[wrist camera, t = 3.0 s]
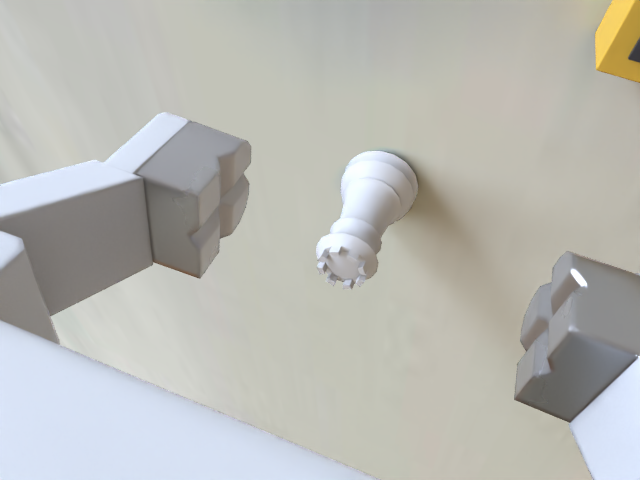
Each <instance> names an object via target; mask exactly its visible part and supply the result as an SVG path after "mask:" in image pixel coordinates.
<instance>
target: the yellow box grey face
mask: <svg viewBox="0 0 640 480" xmlns="http://www.w3.org/2000/svg"><path fill="white" fill-rule="evenodd" d="M595 49H596V70H598V71H601V72H605V73H608V74H611V75H615V76H618V77H622V78H625V79H628V80H632V81H635V82H639V83H640V0H613V1H612V2H611V4H610V6H609V8H608V10H607V12H606V14H605V16H604V18H603V20H602V22H601V23H600V25H599V27H598V29H597V31H596V33H595Z"/></svg>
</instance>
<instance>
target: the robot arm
mask: <svg viewBox="0 0 640 480" xmlns="http://www.w3.org/2000/svg"><path fill="white" fill-rule="evenodd" d="M250 163H251V145H250V144H249V142H248V141H246V140H243V139H240V138H237V137H235V136H232V135H229V134H227V133H224V132H221V131H218V130H216V129H213V128H210V127H208V126H205V125H202V124H199V123H197V122H192V121H190V120H187V119H185V118H182V117H179V116H176V115H173V114H171V113H168V112H166V113H159V114H158V115H157V116H156V117H155V118H153V119H152V120H151V121H150V122H149V123H148V124H147V125H146V126H144V127H143V128H142V129H141V130H140V131H139V132H138V133H137V134H135V135H134V136H133V137H132V138H131V139H130V140H129V141H128V142H126V143H125V144H124V145H123V146H122V147H121V148H120V149H119V150H117V151H116V152H115V153H114V154H113V155H112V156H111V157H110V158H108V159H107V160H106V161H105V162H104V163H102V162H99V161H96V160H93V161H89V162H85V163H81V164H77V165H74V166H70V167H66V168H62V169H58V170H54V171H50V172H46V173H42V174H38V175H34V176H30V177H26V178H23V179H19V180H15V181H11V182H7V183H3V184H0V480H380V479H378V478H376V477H373V476H371V475H369V474H366V473H364V472H361V471H359V470H357V469H354V468H352V467H350V466H347V465H345V464H342V463H340V462H338V461H335V460H333V459H331V458H328V457H326V456H323V455H321V454H319V453H316V452H314V451H311V450H309V449H307V448H304V447H302V446H299V445H297V444H295V443H292V442H290V441H288V440H285V439H283V438H280V437H278V436H276V435H273V434H271V433H268V432H266V431H264V430H261V429H259V428H257V427H254V426H252V425H249V424H247V423H245V422H242V421H240V420H237V419H235V418H233V417H230V416H228V415H226V414H223V413H221V412H218V411H216V410H214V409H211V408H209V407H206V406H204V405H202V404H199V403H197V402H195V401H192V400H190V399H187V398H185V397H183V396H180V395H178V394H175V393H173V392H171V391H168V390H166V389H164V388H161V387H159V386H156V385H154V384H152V383H149V382H147V381H144V380H142V379H140V378H137V377H135V376H133V375H130V374H128V373H125V372H123V371H121V370H118V369H116V368H114V367H111V366H109V365H106V364H104V363H102V362H99V361H97V360H94V359H92V358H90V357H87V356H85V355H83V354H80V353H78V352H75V351H73V350H71V349H68V348H66V347H64V346H61V345H60V343H59V339H58V336H57V333H56V330H55V328H54V325H53V322H52V319H51V317H50V316H52V315H54V314H56V313H58V312H60V311H62V310H64V309H66V308H68V307H70V306H72V305H74V304H76V303H78V302H80V301H82V300H84V299H86V298H88V297H90V296H92V295H94V294H96V293H98V292H100V291H102V290H104V289H106V288H108V287H110V286H112V285H114V284H116V283H118V282H120V281H122V280H124V279H126V278H128V277H130V276H132V275H134V274H136V273H138V272H140V271H142V270H144V269H146V268H148V267H150V266H152V265H153V262H154V263H157V264H160V265H163V266H166V267H168V268H171V269H174V270H177V271H180V272H183V273H185V274H188V275H191V276H194V277H197V278H201V277H202V275H203V274H204V272H205V271H206V270H207V268H208V267H209V265H210V264H211V263H212V261H213V260H214V258H215V257H216V256H217V254H218V253H219V243H220V238H223V237H226V236H228V235H231V234H232V233H233V231H234V230H235V228H236V227H237V225H238V224H239V222H240V220H241V217H242V215H243V213H244V210H245V208H246V204H247V200H248V195H249V182H248V180H247V179H246V177H245V175H244V174H243V173H244V171H245V170H246V169H247V167H248V166H249V165H250ZM520 341H521V343H522V345H523V347H524V348H525V350H526V353H525V354H524V356H523V357H522V358H521V360H520V361H519V362H518V364H517V374H516V385H515V395H514V400H516V401H519V402H521V403H524V404H526V405H528V406H531V407H533V408H536V409H538V410H541V411H543V412H545V413H548V414H550V415H553V416H555V417H558V418H560V419H562V420H565V421H567V422H570V424H569V427H570V430H571V432H572V434H573V436H574V439H575V441H576V443H577V445H578V447H579V450H580V452H581V454H582V456H583V459H584V461H585V463H586V465H587V467H588V470H589V472H590V474H591V476H592V478H593V480H640V274H638V273H632V272H629V271H626V270H623V269H620V268H617V267H614V266H611V265H608V264H605V263H602V262H599V261H596V260H593V259H591V258H588V257H585V256H582V255H579V254H576V253H573V252H570V251H566V252H565V253H564V254H563V255H562V256H561V257H560V258H559V260H558V261H557V262H556V264H555V265H554V267H553V271H552V282H551V283H548V284H545V285H542V286H540V287H539V289H538V290H537V292H536V293H535V295H534V297H533V298H532V300H531V302H530V304H529V307H528V309H527V311H526V314H525V316H524V320H523V324H522V329H521V337H520Z"/></svg>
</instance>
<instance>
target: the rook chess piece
mask: <svg viewBox="0 0 640 480" xmlns="http://www.w3.org/2000/svg"><path fill="white" fill-rule="evenodd" d="M418 188H419V187H418V183H417V179H416V175H415V173H414V172H413V171H412V169H411V168H410V167H409V165H408V164H407V163H406V162H405V161H403V160H402V159H400V158H399V157H397V156H396V155H394V154H390V153H386V152H383V151H370V152H363V153H361V154H360V155H358V156H356V157H354V158H352V160H351V161H350V163H349V164H348V165H347V167H346V170H345V174H344V175H343V176H342V183H341V195H342V202H343V205H344V206H343V210H342V213H341V217H340V219H339V220H338V221H335V223H334V224H333V225H332V227H331V230H330V234H329V235H327V236H325V237H322V239H321V240H320V241H319V243H318V244H317V251H316V254H317V256H318V260H317V261H320V262H319V264H318V266H317V269H318V271H319V274H325V272H327V274H328V277H327V279H326V282H328V283H330V284H331V285H333V286H334V285H335V283H336V280H339V281H342V282H344V283H343V289H352V288H353V286H354V284H357V285H358V286H359V287H360V286H361V285H362V284H363V283H364V281H365V280H366V279H369V278H371V277H372V276H373V275H374V274H375V273H376V272H377V268H378V260H377V257H376V254H377V253H378V252H379V251H380V249H381V244H382V241H381V237H382V235H383V233H384V232H385V230H386V229H387V227H388V226H389V225H391V224H393V223H394V222H395V221H398V220H400V219H401V218H402V217H403V216H404V215H405V214H406V213H407V212H408V211H409V210H410V208H411V206H412V203H413V202H414V200H415V199H416V196H417V192H418Z"/></svg>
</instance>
